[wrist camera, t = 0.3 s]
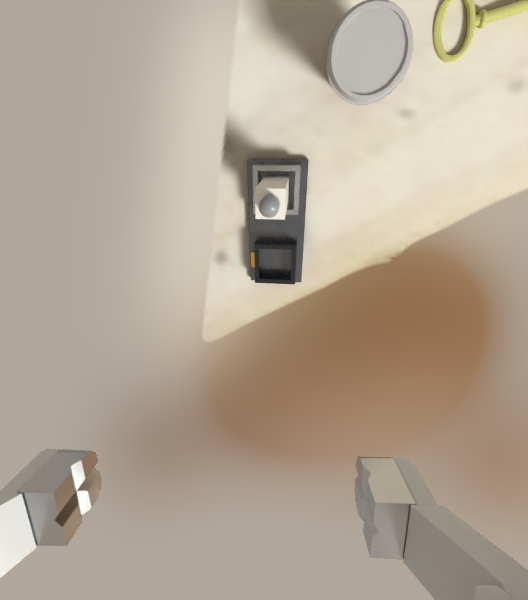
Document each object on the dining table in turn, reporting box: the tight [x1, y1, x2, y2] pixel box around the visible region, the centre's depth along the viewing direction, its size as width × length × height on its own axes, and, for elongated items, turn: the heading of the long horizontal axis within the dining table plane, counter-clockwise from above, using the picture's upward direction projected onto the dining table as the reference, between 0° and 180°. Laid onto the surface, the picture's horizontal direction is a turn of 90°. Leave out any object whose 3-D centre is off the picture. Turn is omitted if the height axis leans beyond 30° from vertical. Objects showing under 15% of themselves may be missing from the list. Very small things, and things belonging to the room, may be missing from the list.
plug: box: [255, 176, 289, 220], centre depth 45 cm, size 4×4×15 cm
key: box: [433, 0, 528, 62], centre depth 39 cm, size 7×12×2 cm, turn 122°
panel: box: [247, 159, 308, 284], centre depth 54 cm, size 22×10×4 cm, turn 0°
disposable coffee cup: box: [326, 0, 413, 105], centre depth 39 cm, size 10×10×12 cm
